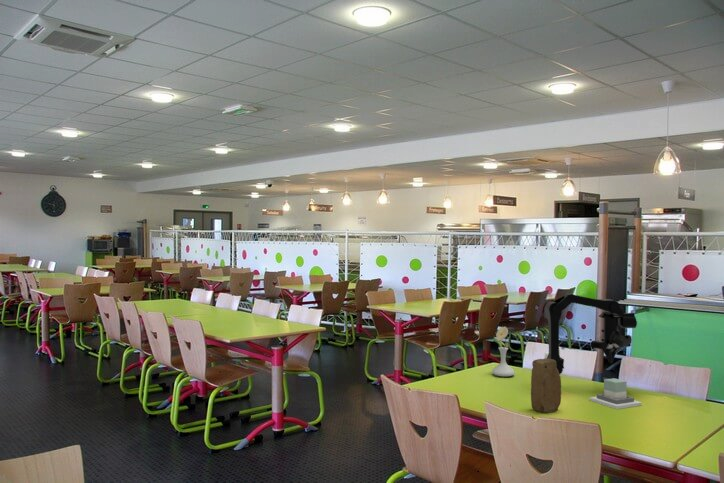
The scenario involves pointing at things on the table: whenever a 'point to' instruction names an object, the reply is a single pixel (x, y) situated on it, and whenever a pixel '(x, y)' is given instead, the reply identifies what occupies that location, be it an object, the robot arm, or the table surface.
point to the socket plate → (615, 401)
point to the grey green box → (615, 388)
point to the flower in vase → (503, 356)
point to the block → (545, 386)
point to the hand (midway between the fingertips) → (610, 363)
